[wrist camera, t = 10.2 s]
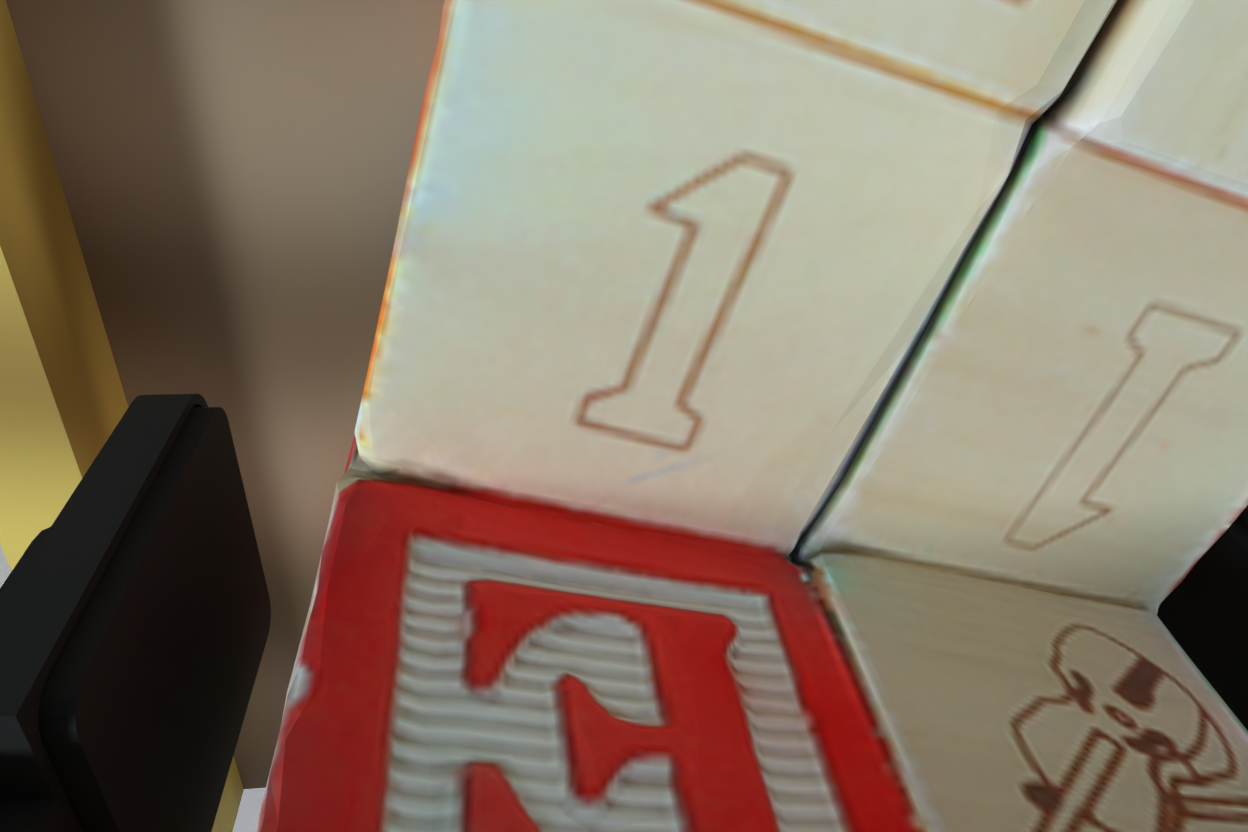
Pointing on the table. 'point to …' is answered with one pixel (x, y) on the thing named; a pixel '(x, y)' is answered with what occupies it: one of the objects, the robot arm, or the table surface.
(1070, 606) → the stack of blocks
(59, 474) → the dock
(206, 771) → the robot arm
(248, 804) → the table surface
